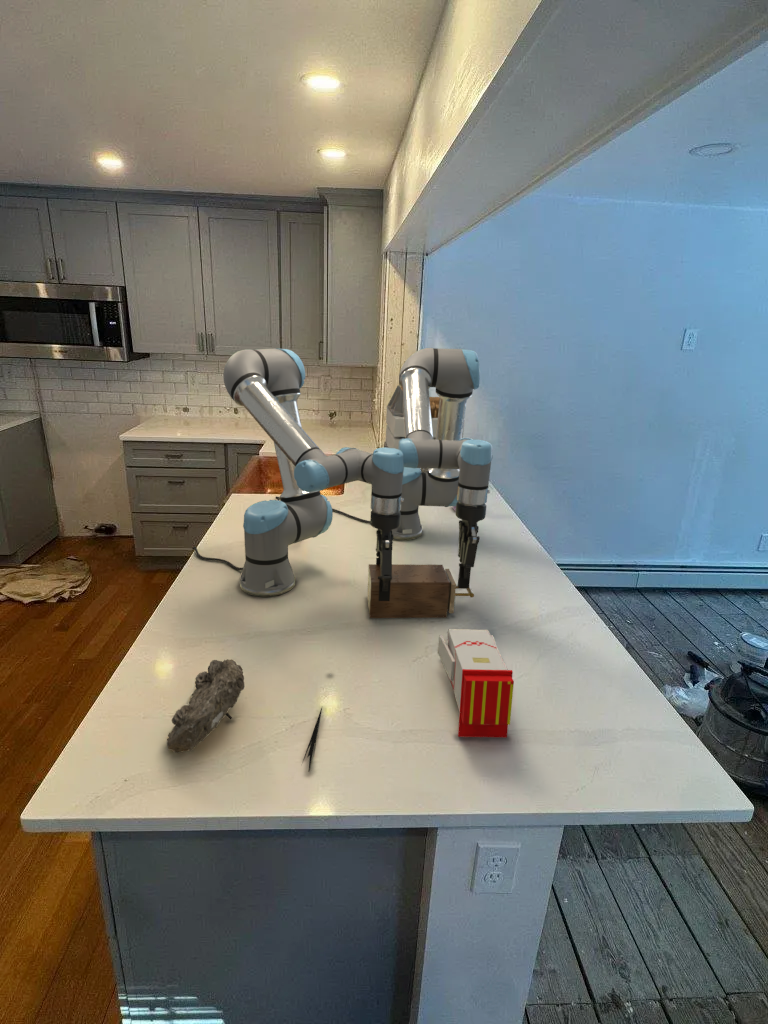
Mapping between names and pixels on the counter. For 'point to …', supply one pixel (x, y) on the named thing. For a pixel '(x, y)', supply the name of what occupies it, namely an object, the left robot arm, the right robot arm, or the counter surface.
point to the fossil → (206, 705)
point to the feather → (313, 740)
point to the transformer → (396, 418)
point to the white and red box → (478, 682)
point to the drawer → (452, 591)
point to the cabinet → (410, 592)
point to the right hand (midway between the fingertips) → (463, 587)
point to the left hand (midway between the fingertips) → (382, 590)
